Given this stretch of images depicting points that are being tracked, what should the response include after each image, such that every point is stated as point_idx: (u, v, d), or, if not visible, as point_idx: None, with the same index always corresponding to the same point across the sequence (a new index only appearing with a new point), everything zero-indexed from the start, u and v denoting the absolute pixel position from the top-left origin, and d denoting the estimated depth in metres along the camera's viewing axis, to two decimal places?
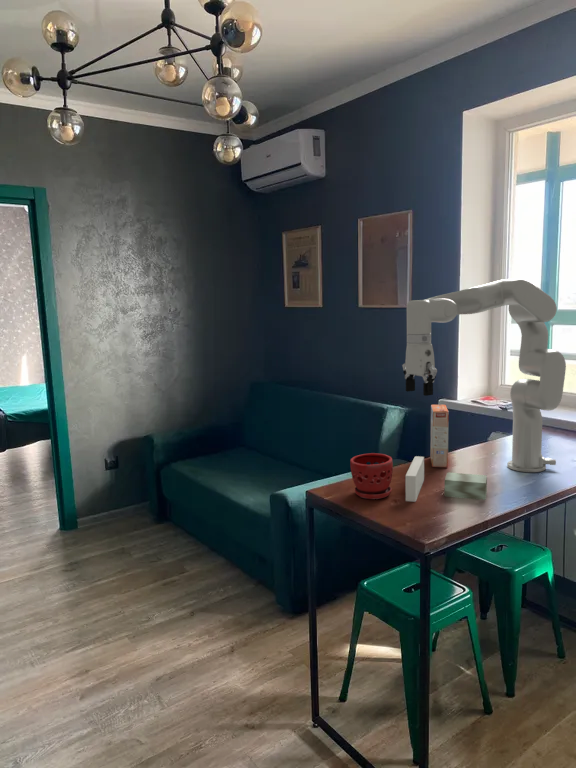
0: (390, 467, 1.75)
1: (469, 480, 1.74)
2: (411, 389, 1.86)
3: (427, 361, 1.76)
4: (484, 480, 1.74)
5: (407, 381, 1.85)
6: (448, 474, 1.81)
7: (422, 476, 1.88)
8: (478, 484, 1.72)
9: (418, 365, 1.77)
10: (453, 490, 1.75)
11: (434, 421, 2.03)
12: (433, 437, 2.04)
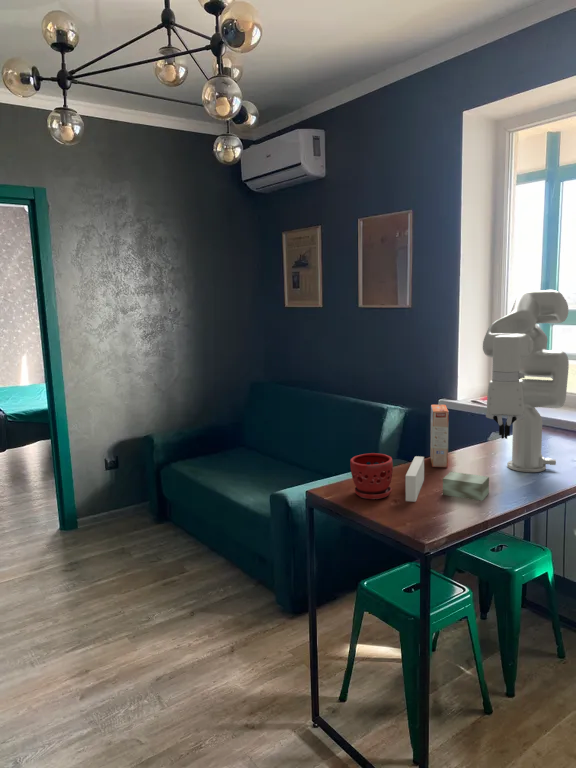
0: (390, 467, 1.75)
1: (466, 480, 1.74)
2: (503, 435, 1.71)
3: None
4: (482, 481, 1.73)
5: None
6: (450, 473, 1.81)
7: (422, 476, 1.88)
8: (474, 485, 1.72)
9: (516, 404, 1.66)
10: (451, 489, 1.76)
11: (434, 421, 2.03)
12: (433, 437, 2.04)
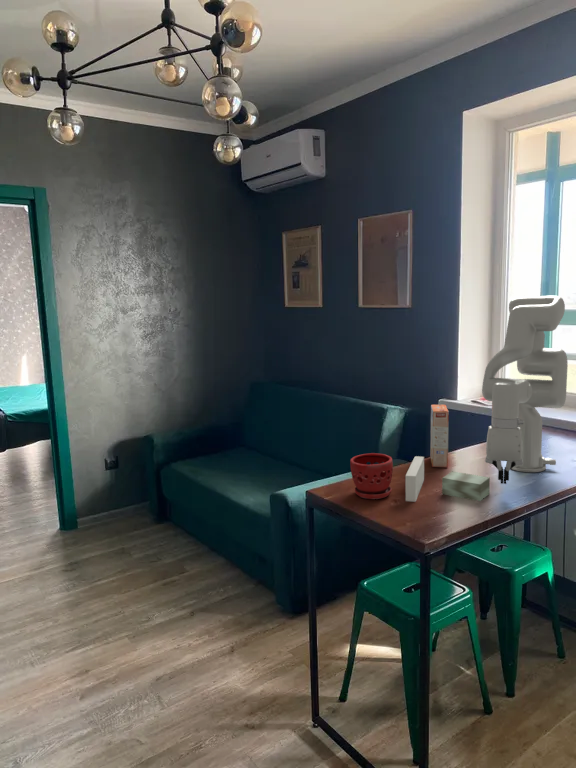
0: (390, 467, 1.75)
1: (465, 480, 1.74)
2: None
3: None
4: (482, 481, 1.73)
5: None
6: (451, 473, 1.82)
7: (422, 476, 1.88)
8: (473, 485, 1.72)
9: (515, 450, 1.68)
10: (450, 489, 1.76)
11: (434, 421, 2.03)
12: (433, 437, 2.04)
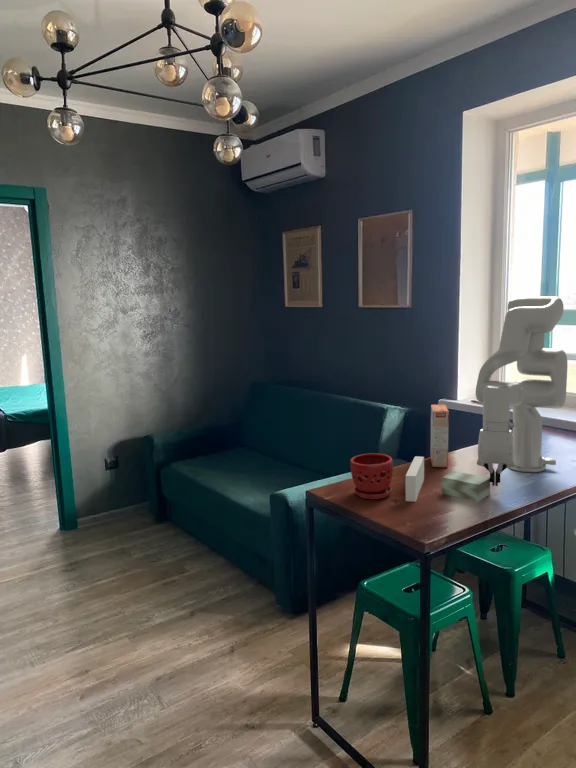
0: (390, 467, 1.75)
1: (465, 480, 1.74)
2: None
3: None
4: (481, 482, 1.72)
5: (494, 475, 1.73)
6: (452, 473, 1.82)
7: (422, 476, 1.88)
8: (471, 485, 1.72)
9: (506, 453, 1.70)
10: (450, 488, 1.77)
11: (434, 421, 2.03)
12: (433, 437, 2.04)
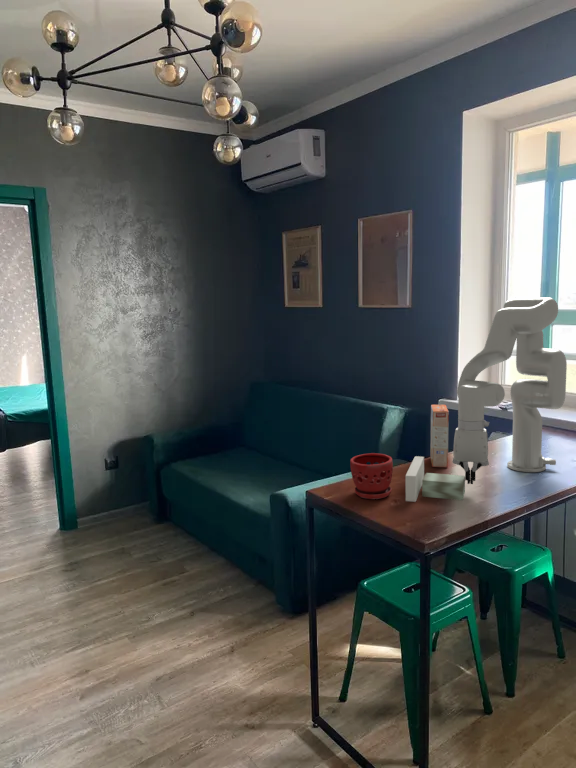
0: (390, 467, 1.75)
1: (446, 481, 1.74)
2: None
3: None
4: (461, 480, 1.74)
5: (469, 473, 1.75)
6: (426, 474, 1.81)
7: (422, 476, 1.88)
8: (455, 485, 1.72)
9: (480, 452, 1.72)
10: (431, 490, 1.75)
11: (434, 421, 2.03)
12: (433, 437, 2.04)
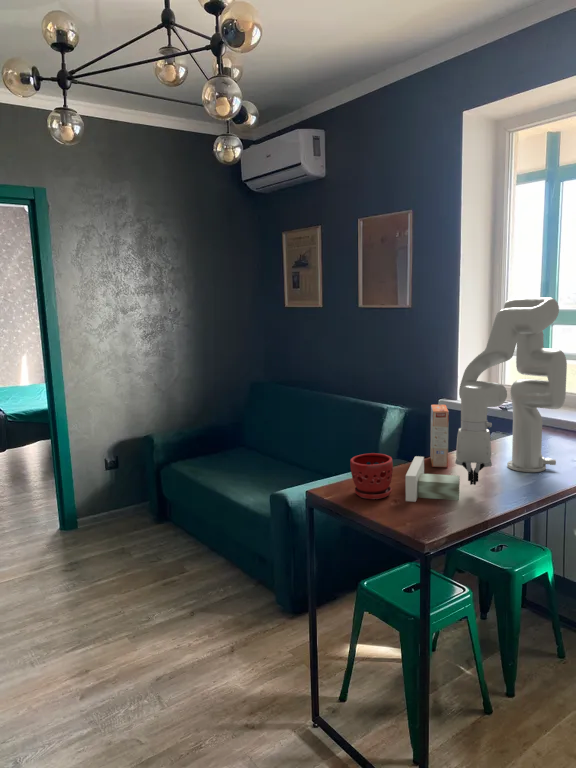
0: (390, 467, 1.75)
1: (442, 481, 1.74)
2: None
3: None
4: (457, 480, 1.74)
5: (472, 474, 1.75)
6: (421, 475, 1.81)
7: None
8: (451, 485, 1.72)
9: (483, 452, 1.72)
10: (427, 491, 1.75)
11: (434, 421, 2.03)
12: (433, 437, 2.04)
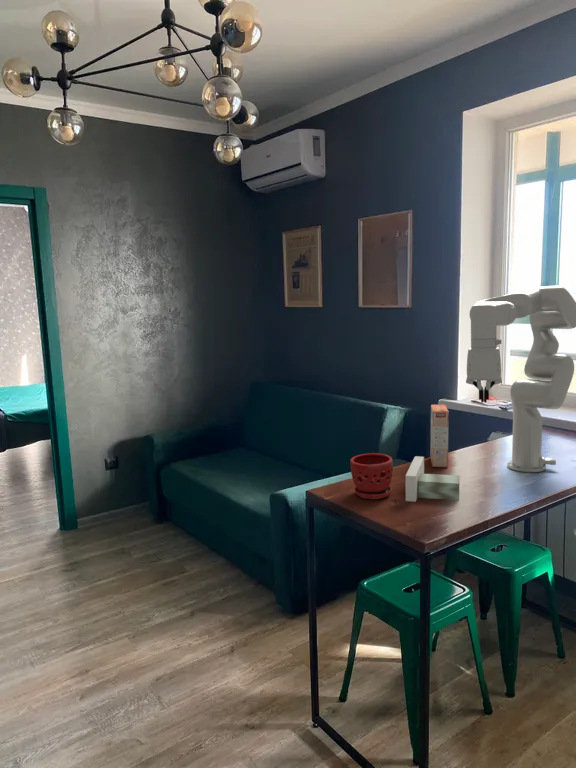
0: (390, 467, 1.75)
1: (442, 481, 1.74)
2: None
3: None
4: (457, 480, 1.74)
5: (483, 392, 1.78)
6: (421, 475, 1.80)
7: None
8: (451, 485, 1.72)
9: (494, 369, 1.75)
10: (427, 491, 1.75)
11: (434, 421, 2.03)
12: (433, 437, 2.04)
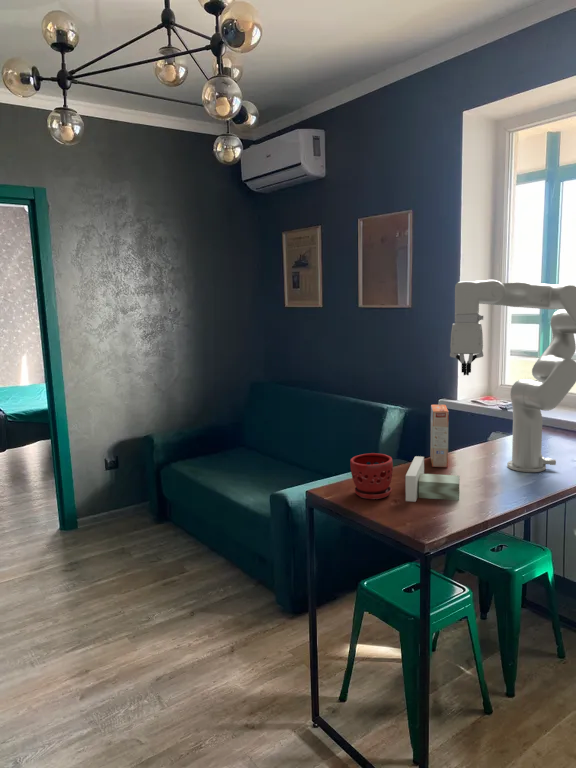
0: (390, 467, 1.75)
1: (442, 481, 1.74)
2: None
3: None
4: (457, 480, 1.74)
5: (465, 365, 1.88)
6: (421, 475, 1.80)
7: None
8: (451, 485, 1.72)
9: (475, 343, 1.85)
10: (427, 491, 1.75)
11: (434, 421, 2.03)
12: (433, 437, 2.04)
